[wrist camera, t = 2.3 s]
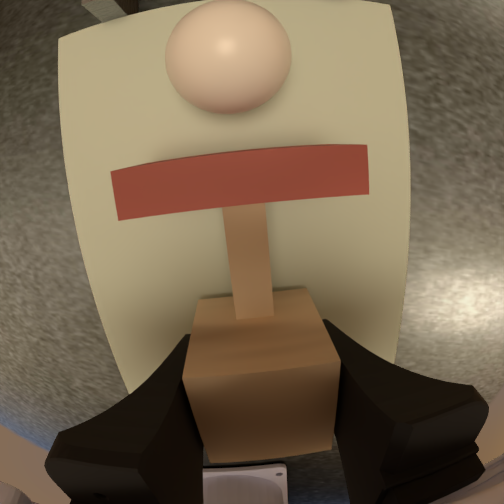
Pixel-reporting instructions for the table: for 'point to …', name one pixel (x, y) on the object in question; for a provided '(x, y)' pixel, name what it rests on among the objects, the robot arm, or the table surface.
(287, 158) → the t-shaped pusher
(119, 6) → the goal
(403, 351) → the table surface
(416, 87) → the table surface
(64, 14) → the table surface
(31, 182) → the table surface
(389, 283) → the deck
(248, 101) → the ball
